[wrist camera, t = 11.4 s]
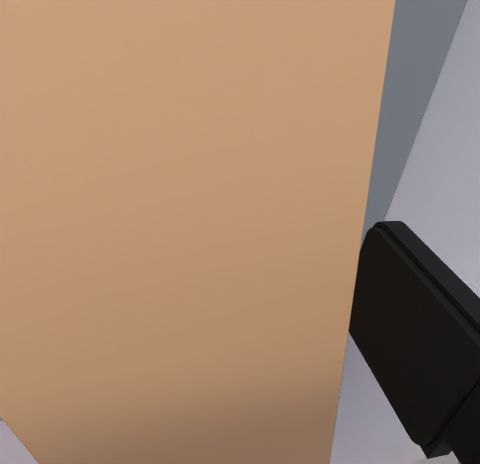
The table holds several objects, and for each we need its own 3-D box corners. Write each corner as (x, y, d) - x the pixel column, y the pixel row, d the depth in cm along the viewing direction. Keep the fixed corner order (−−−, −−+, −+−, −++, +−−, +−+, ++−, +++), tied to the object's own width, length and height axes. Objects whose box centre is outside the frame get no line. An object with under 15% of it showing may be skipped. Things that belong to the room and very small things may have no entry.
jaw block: (-10, -23, 8) (-314, 34, 3) (227, -45, 9) (400, -38, 3) (129, 346, 15) (129, 573, 10) (254, 317, 16) (322, 514, 10)
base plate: (-410, -443, 6) (-1348, -1135, 2) (492, -185, 10) (707, -265, 6) (-32, 392, 17) (-75, 512, 13) (314, 350, 21) (353, 433, 17)
